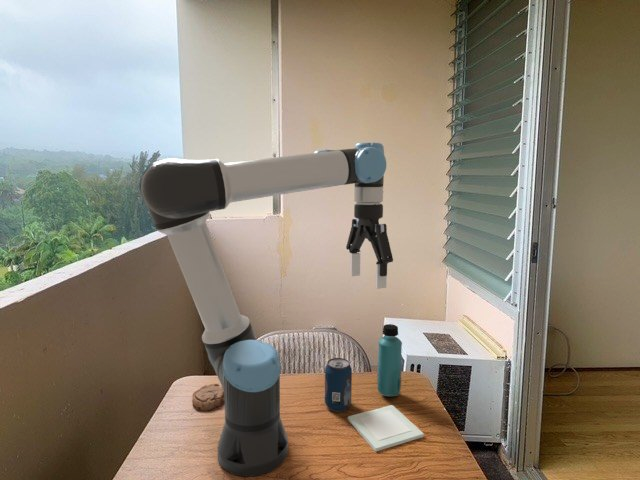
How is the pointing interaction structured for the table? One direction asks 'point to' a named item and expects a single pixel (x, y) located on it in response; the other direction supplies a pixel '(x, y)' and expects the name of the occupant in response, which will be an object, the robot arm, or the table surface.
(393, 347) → the beverage bottle
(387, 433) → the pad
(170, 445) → the table surface
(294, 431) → the table surface
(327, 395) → the soda can
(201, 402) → the cookie
